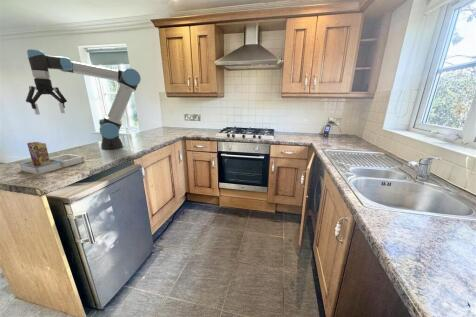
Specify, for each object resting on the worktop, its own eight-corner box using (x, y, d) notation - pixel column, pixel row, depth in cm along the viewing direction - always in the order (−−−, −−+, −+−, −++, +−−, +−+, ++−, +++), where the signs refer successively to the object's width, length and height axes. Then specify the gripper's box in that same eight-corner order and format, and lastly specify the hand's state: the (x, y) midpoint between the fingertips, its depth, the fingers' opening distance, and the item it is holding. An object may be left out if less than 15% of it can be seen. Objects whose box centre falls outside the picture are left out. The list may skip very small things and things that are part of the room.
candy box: (53, 168, 112) (46, 143, 107) (43, 171, 108) (36, 144, 103) (43, 166, 115) (36, 141, 110) (33, 168, 111) (26, 142, 106)
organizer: (69, 158, 130) (68, 152, 128) (84, 161, 125) (83, 155, 124) (21, 170, 108) (19, 163, 107) (37, 174, 104) (35, 167, 102)
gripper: (61, 80, 131) (68, 112, 138) (10, 76, 109) (21, 114, 115) (69, 80, 129) (75, 112, 135) (18, 76, 106) (29, 115, 113)
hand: (51, 113), depth 125 cm, fingers open, 13 cm apart
